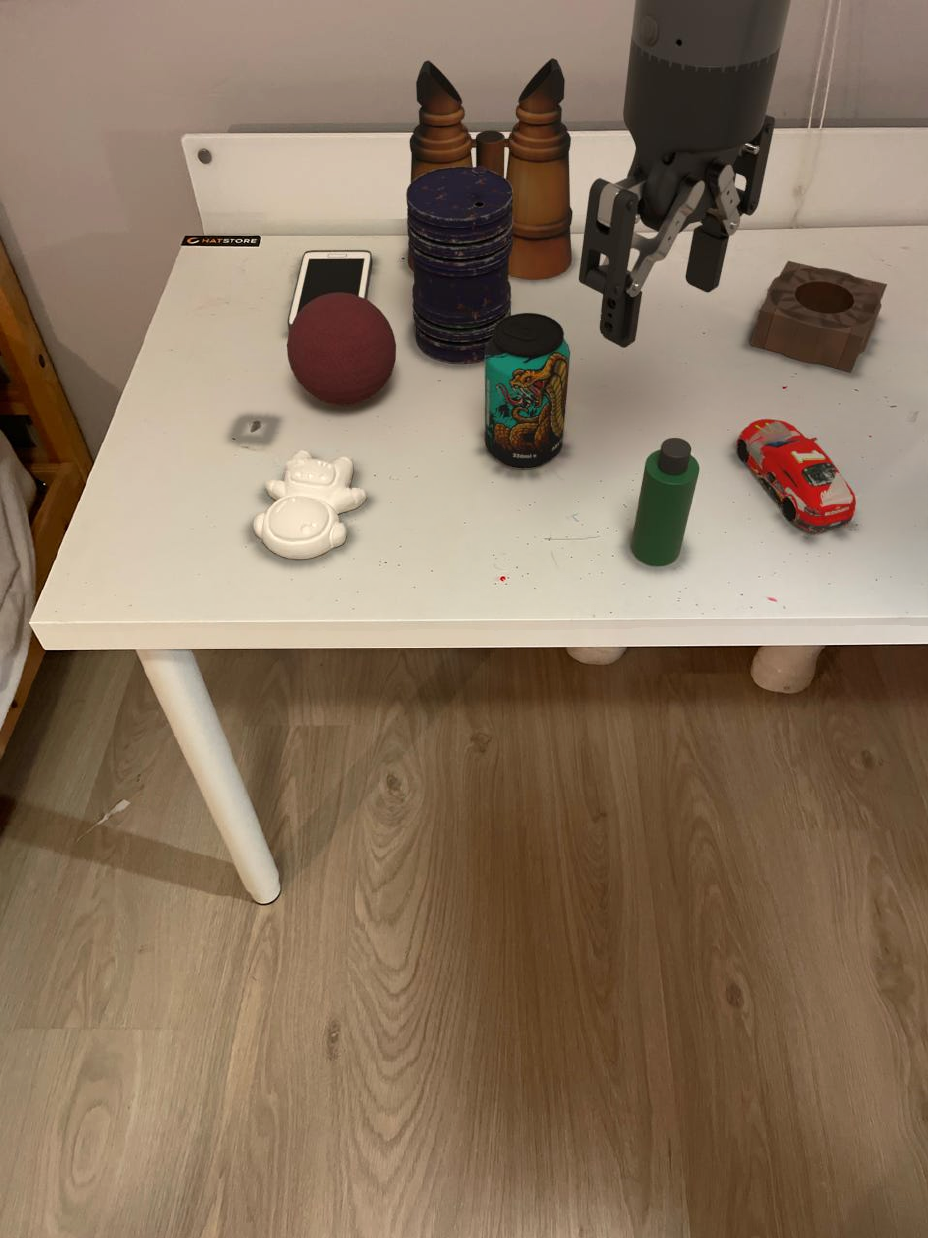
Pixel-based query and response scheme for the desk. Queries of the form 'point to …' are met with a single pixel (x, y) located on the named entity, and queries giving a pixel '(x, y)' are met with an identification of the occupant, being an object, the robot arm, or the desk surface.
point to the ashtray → (818, 315)
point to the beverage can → (526, 390)
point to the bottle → (664, 503)
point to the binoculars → (530, 167)
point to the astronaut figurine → (308, 507)
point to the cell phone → (330, 276)
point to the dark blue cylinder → (459, 259)
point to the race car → (797, 475)
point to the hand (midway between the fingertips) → (660, 312)
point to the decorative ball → (341, 349)
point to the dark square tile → (255, 426)
